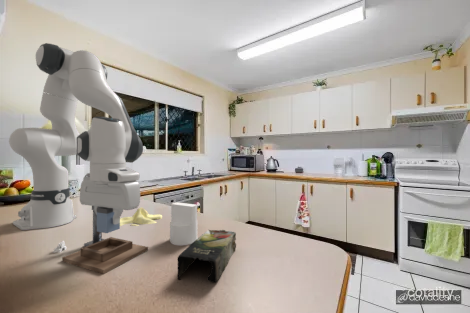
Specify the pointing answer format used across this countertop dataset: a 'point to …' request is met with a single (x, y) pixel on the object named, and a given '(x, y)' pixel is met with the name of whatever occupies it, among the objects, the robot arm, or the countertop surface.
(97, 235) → the post
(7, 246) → the countertop surface
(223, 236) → the juice carton
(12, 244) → the countertop surface
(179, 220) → the cylinder with rectangular tab
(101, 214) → the grey banded block
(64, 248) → the white irregular angular piece
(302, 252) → the countertop surface
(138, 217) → the cloth
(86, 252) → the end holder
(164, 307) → the countertop surface
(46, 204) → the robot arm
